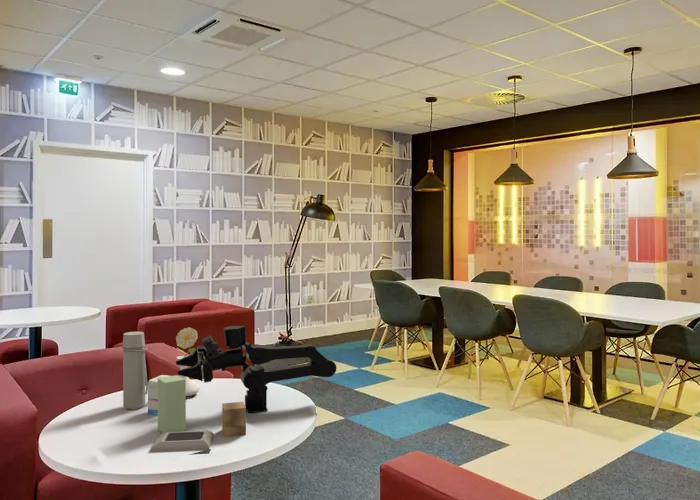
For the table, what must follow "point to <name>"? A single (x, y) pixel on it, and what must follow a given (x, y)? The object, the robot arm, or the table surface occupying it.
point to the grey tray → (184, 441)
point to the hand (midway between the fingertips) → (176, 367)
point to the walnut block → (233, 419)
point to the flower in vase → (185, 341)
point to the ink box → (153, 395)
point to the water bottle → (134, 370)
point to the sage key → (171, 404)
